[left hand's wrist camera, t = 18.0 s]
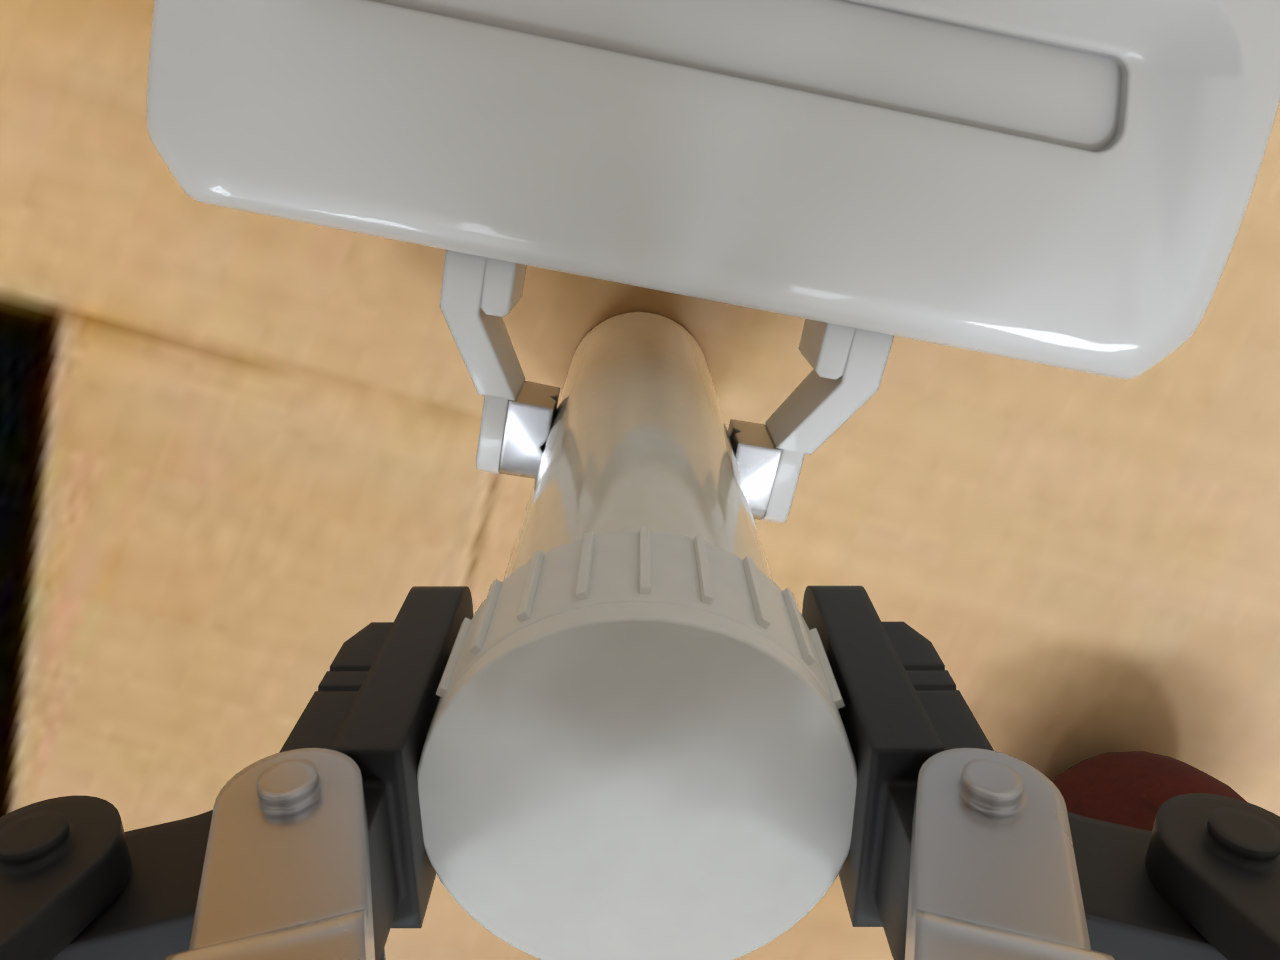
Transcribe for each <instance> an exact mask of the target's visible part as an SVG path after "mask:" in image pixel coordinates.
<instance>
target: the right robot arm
mask: <svg viewBox="0 0 1280 960" xmlns="http://www.w3.org/2000/svg"><path fill="white" fill-rule="evenodd" d="M1279 102H1280V0H154V7H153V16H152V28H151V39H150V51H149V66H148V82H147V126H148V133H149V136H150V139H151V141H152V143H153V145H154V147H155V148H156V150H157V151H158V153H159V154H160V156H161V158H162V159H163V161H164V162H165V164H166V165H167V167H168V169H169V170H170V172H171V173H172V175H173V176H174V178H175V179H176V181H177V182H178V184H179V185H180V186H181V188H182V189H183V190H184V192H185V193H186V194H187V195H188V196H189V197H190V198H192V199H194V200H196V201H199V202H201V203H206V204H211V205H216V206H221V207H226V208H231V209H237V210H242V211H247V212H252V213H257V214H263V215H268V216H273V217H278V218H283V219H289V220H294V221H299V222H304V223H310V224H315V225H320V226H325V227H330V228H336V229H341V230H346V231H351V232H356V233H362V234H367V235H372V236H377V237H383V238H388V239H393V240H398V241H403V242H409V243H414V244H419V245H424V246H429V247H435V248H440V249H445V250H446V255H445V264H444V273H443V282H442V291H441V300H440V308H441V310H442V313H443V315H444V317H445V319H446V322H447V324H448V326H449V329H450V331H451V333H452V335H453V338H454V340H455V342H456V344H457V347H458V349H459V351H460V353H461V356H462V358H463V360H464V362H465V365H466V367H467V369H468V371H469V374H470V376H471V378H472V380H473V383H474V385H475V387H476V390H477V392H478V394H479V395H483V396H485V397H484V404H483V412H482V420H481V427H480V435H479V442H478V450H477V458H476V466H477V469H478V470H482V471H487V472H492V473H496V474H499V473H502V474H508V475H514V476H521V477H527V478H533V479H535V477H536V474H537V471H538V467H539V464H540V461H541V458H542V455H543V451H544V448H545V445H546V442H547V438H548V435H549V432H550V429H551V426H552V423H553V419H554V416H555V413H556V410H557V405H558V398H559V392H560V388H558V387H553V386H548V385H543V384H538V383H534V382H529V381H525V377H524V374H523V371H522V369H521V366H520V363H519V361H518V358H517V356H516V353H515V350H514V348H513V345H512V342H511V340H510V337H509V335H508V332H507V329H506V327H505V324H504V321H503V319H502V317H504V316H506V315H507V314H508V313H509V312H510V311H511V310H512V308H513V307H514V306H515V305H516V303H517V302H518V301H519V299H520V298H521V297H522V293H523V286H524V279H525V273H526V266H527V265H528V266H534V267H539V268H544V269H549V270H555V271H560V272H565V273H570V274H575V275H581V276H586V277H591V278H596V279H601V280H607V281H612V282H617V283H622V284H628V285H633V286H638V287H643V288H648V289H654V290H659V291H664V292H669V293H674V294H680V295H685V296H690V297H695V298H700V299H706V300H711V301H716V302H721V303H727V304H732V305H737V306H742V307H747V308H753V309H758V310H763V311H768V312H773V313H779V314H784V315H789V316H794V317H800V318H805V319H806V320H805V324H804V328H803V332H802V336H801V341H800V345H799V350H800V352H801V354H802V355H803V356H804V358H805V359H806V360H807V361H808V363H809V364H810V365H811V366H812V368H813V370H812V372H811V373H810V374H809V375H808V376H807V377H806V378H805V379H804V380H803V381H802V383H801V384H800V385H799V386H798V387H797V388H796V389H795V390H794V391H793V392H792V394H791V395H790V396H789V397H788V398H787V399H786V400H785V401H784V402H783V403H782V405H781V406H780V407H779V408H778V409H777V410H776V411H775V412H774V413H773V414H772V416H771V417H770V418H769V419H768V420H767V421H766V422H765V424H766V425H764V424H757V423H751V422H745V421H739V420H732V419H731V420H730V424H729V428H728V434H729V438H730V441H731V444H732V448H733V451H734V454H735V458H736V461H737V464H738V467H739V471H740V474H741V477H742V481H743V484H744V487H745V490H746V494H747V497H748V500H749V504H750V507H751V510H752V514H753V517H754V519H761V520H766V521H771V522H777V523H783V522H785V520H786V518H787V516H788V514H789V512H790V508H791V504H792V500H793V497H794V493H795V489H796V486H797V482H798V478H799V475H800V471H801V467H802V463H803V460H804V456H805V454H809V455H811V454H812V453H813V452H814V451H815V450H816V449H817V448H818V447H819V446H820V445H821V444H822V443H823V442H825V441H826V440H827V439H828V438H829V437H830V436H831V435H832V434H833V433H834V432H835V431H836V430H837V429H838V428H839V427H840V426H841V425H842V424H843V423H844V422H845V421H846V420H847V419H848V418H849V417H850V416H851V415H852V414H853V413H854V412H855V411H857V410H858V409H859V408H860V407H861V406H862V405H863V404H864V403H865V402H866V401H867V400H868V399H869V398H870V397H871V396H872V395H873V394H874V393H875V392H876V391H877V390H878V388H879V385H880V382H881V378H882V375H883V372H884V368H885V365H886V361H887V358H888V355H889V351H890V348H891V345H892V341H893V338H894V336H899V337H904V338H909V339H914V340H919V341H925V342H930V343H935V344H940V345H945V346H951V347H956V348H961V349H966V350H972V351H977V352H982V353H987V354H992V355H998V356H1003V357H1008V358H1013V359H1018V360H1024V361H1029V362H1034V363H1039V364H1045V365H1050V366H1055V367H1060V368H1065V369H1071V370H1076V371H1081V372H1086V373H1092V374H1097V375H1102V376H1107V377H1113V378H1118V379H1133V378H1136V377H1138V376H1140V375H1141V374H1143V373H1144V372H1146V371H1147V370H1149V369H1150V368H1152V367H1153V366H1155V365H1156V364H1157V363H1159V362H1160V361H1161V360H1163V359H1164V358H1166V357H1167V356H1168V355H1170V354H1171V353H1172V352H1173V351H1175V350H1176V349H1177V348H1179V347H1180V346H1181V345H1182V344H1184V343H1185V342H1186V341H1187V340H1188V339H1189V338H1190V337H1191V336H1192V335H1193V333H1194V332H1195V330H1196V329H1197V327H1198V325H1199V323H1200V322H1201V320H1202V318H1203V317H1204V314H1205V312H1206V310H1207V308H1208V306H1209V303H1210V301H1211V299H1212V297H1213V295H1214V292H1215V290H1216V288H1217V285H1218V283H1219V280H1220V278H1221V275H1222V273H1223V270H1224V268H1225V265H1226V263H1227V260H1228V257H1229V255H1230V252H1231V250H1232V247H1233V244H1234V242H1235V239H1236V236H1237V233H1238V231H1239V228H1240V225H1241V222H1242V219H1243V217H1244V214H1245V211H1246V208H1247V206H1248V203H1249V200H1250V197H1251V194H1252V191H1253V188H1254V185H1255V182H1256V179H1257V176H1258V173H1259V170H1260V167H1261V164H1262V161H1263V158H1264V154H1265V151H1266V147H1267V144H1268V141H1269V137H1270V134H1271V130H1272V127H1273V124H1274V120H1275V116H1276V113H1277V109H1278V105H1279Z"/></svg>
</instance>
